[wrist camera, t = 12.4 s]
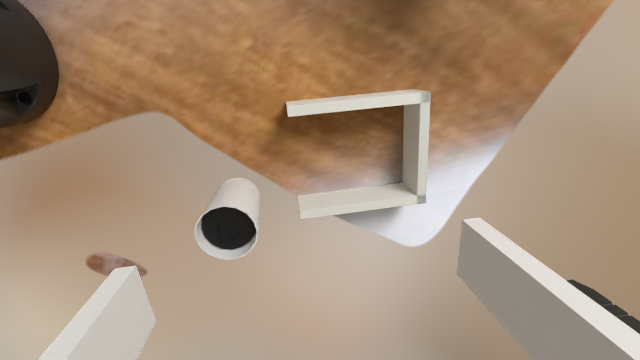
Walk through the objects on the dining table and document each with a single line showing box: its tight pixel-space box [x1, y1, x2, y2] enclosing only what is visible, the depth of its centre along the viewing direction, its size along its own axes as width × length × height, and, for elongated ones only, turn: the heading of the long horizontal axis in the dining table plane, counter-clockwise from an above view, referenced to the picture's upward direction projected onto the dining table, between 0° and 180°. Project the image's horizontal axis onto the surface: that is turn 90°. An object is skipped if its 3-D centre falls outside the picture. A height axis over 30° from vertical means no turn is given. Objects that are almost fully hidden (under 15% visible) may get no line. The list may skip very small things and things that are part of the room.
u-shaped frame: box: [286, 89, 431, 219], centre depth 38 cm, size 14×17×5 cm
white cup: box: [194, 178, 260, 260], centre depth 36 cm, size 7×7×10 cm
